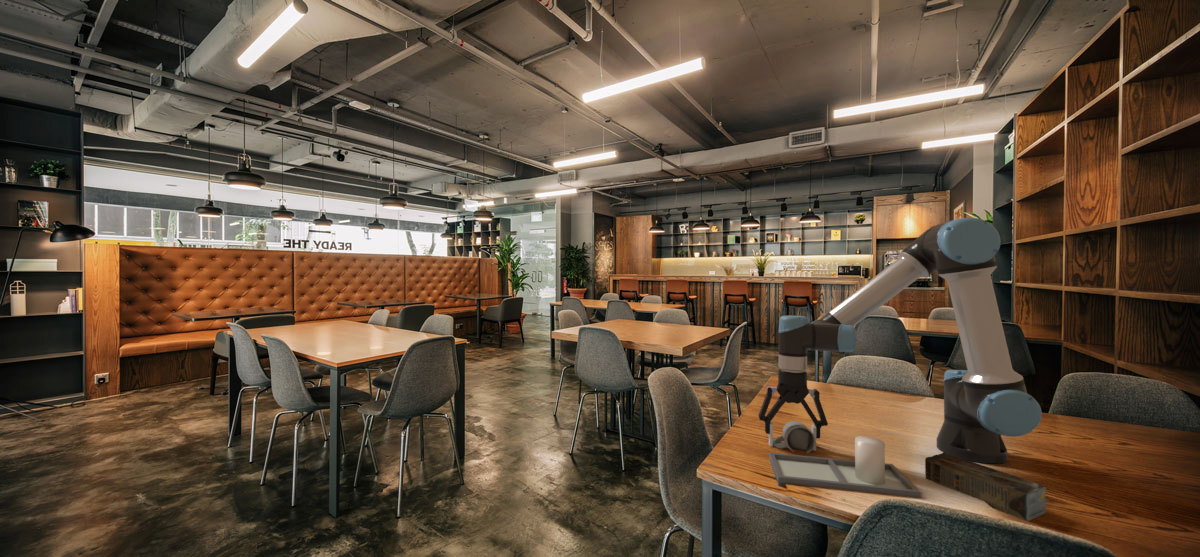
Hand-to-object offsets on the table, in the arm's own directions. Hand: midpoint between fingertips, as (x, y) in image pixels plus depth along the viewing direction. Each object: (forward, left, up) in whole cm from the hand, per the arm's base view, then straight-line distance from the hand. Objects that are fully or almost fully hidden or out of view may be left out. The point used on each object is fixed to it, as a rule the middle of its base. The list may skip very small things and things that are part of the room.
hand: (791, 447), depth 123 cm
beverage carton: (-36, +19, -1) cm, 40 cm away
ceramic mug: (0, 0, -1) cm, 1 cm away
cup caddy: (-7, +17, -1) cm, 19 cm away
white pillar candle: (-14, +17, 0) cm, 22 cm away
